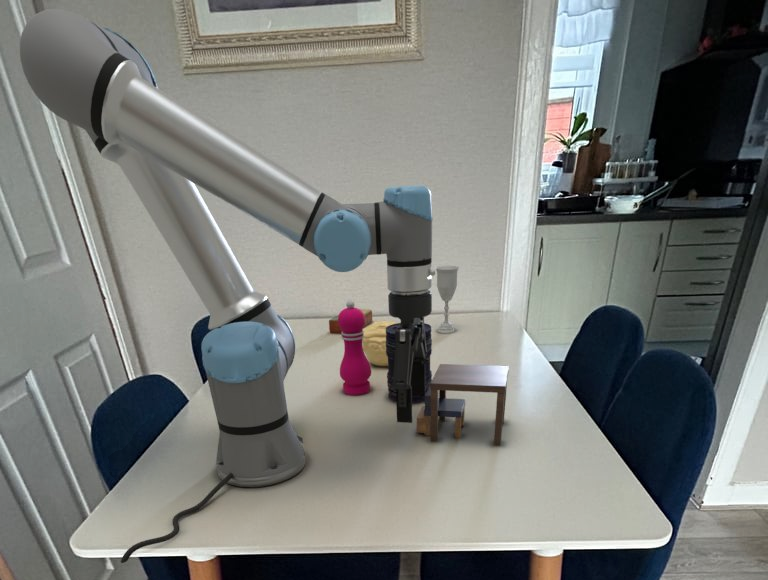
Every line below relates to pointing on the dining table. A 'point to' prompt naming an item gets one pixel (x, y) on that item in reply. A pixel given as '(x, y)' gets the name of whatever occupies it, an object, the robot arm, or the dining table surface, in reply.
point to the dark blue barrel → (428, 374)
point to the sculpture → (376, 342)
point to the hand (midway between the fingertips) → (412, 408)
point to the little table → (469, 389)
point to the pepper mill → (353, 351)
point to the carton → (336, 329)
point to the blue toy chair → (441, 413)
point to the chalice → (446, 291)
